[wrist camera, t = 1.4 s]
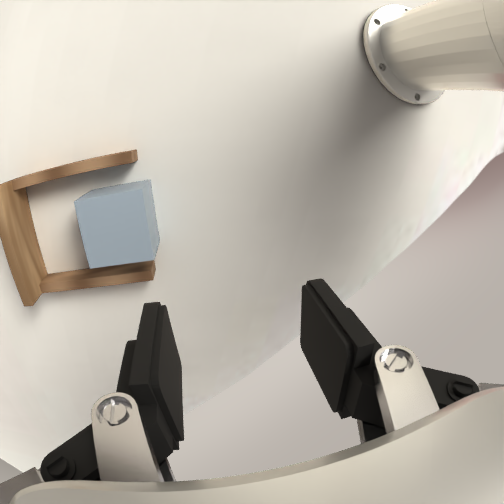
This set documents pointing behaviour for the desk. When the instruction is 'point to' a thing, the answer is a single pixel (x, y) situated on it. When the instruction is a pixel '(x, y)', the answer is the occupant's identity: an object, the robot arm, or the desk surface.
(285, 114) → the desk surface
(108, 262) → the blue-grey cube
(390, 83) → the robot arm
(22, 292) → the bay
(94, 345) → the desk surface
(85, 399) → the desk surface
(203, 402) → the desk surface
